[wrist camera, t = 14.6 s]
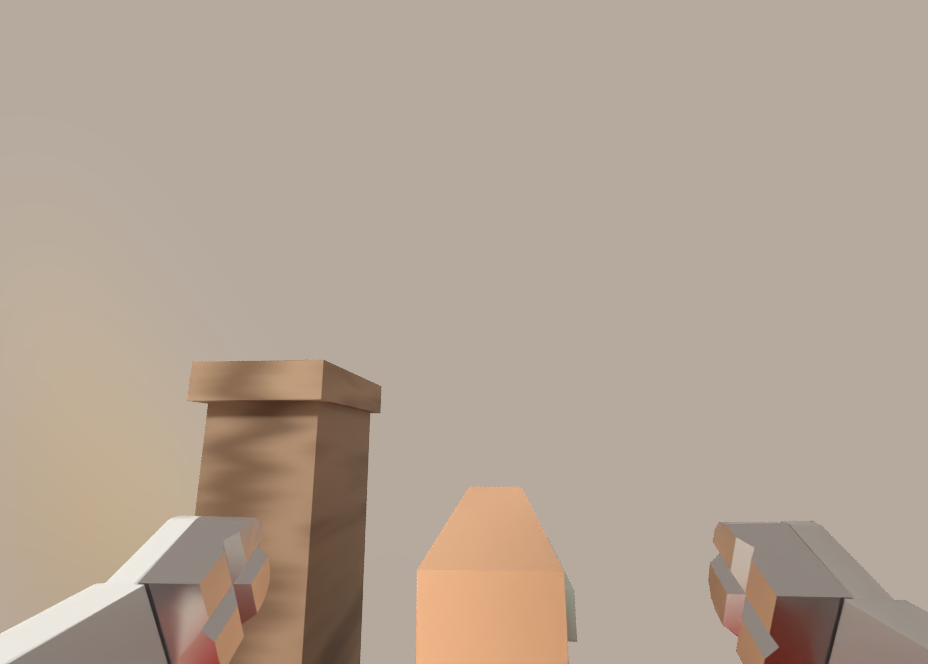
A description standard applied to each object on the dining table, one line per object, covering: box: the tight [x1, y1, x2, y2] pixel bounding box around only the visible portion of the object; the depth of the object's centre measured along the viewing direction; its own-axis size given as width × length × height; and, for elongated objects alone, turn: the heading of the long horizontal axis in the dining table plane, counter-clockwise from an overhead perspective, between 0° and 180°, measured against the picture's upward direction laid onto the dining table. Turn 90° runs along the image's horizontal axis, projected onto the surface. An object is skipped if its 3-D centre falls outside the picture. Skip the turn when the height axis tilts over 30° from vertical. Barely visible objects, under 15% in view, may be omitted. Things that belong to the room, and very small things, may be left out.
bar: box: [416, 487, 568, 664], centre depth 24 cm, size 4×24×3 cm, turn 176°
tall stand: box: [187, 360, 381, 664], centre depth 27 cm, size 7×12×26 cm, turn 176°
